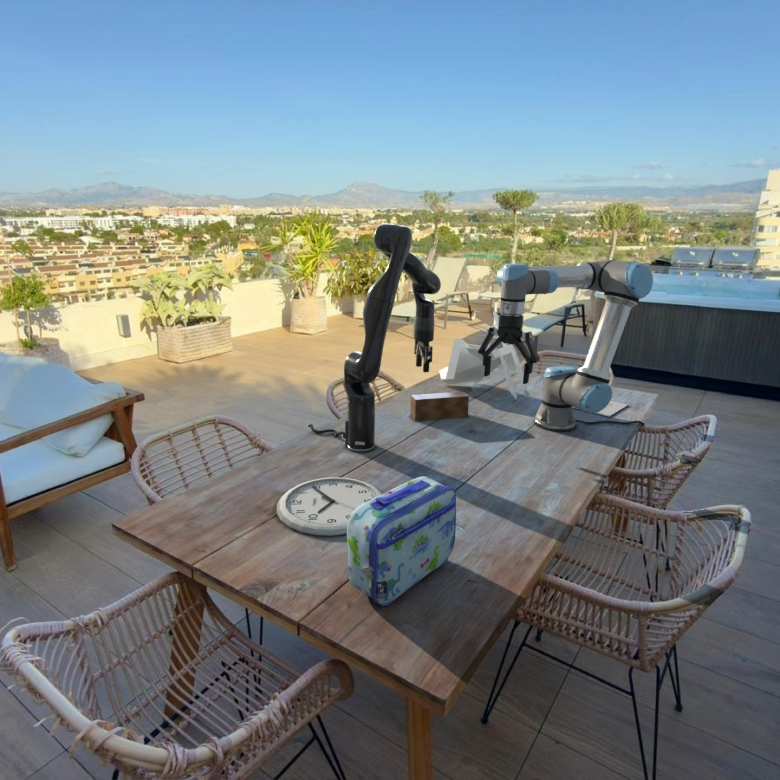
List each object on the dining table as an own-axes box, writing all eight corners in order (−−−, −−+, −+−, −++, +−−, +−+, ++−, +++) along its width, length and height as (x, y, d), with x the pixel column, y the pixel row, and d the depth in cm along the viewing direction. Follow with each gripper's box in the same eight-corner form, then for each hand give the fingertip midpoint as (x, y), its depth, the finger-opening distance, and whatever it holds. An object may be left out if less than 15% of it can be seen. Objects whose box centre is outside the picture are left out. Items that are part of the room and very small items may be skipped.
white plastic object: (461, 429, 252) (437, 405, 227) (444, 352, 274) (420, 323, 250) (535, 404, 240) (518, 377, 215) (510, 326, 262) (492, 293, 237)
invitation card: (608, 416, 214) (573, 407, 224) (608, 416, 214) (573, 408, 224) (628, 404, 229) (594, 396, 238) (628, 405, 229) (594, 397, 238)
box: (461, 411, 217) (463, 391, 215) (467, 416, 212) (469, 395, 209) (410, 415, 211) (411, 395, 209) (414, 421, 206) (415, 399, 203)
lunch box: (376, 619, 101) (377, 524, 95) (340, 592, 109) (339, 502, 102) (459, 562, 119) (465, 479, 113) (424, 542, 126) (427, 463, 120)
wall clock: (392, 527, 129) (268, 531, 127) (391, 533, 130) (269, 537, 127) (383, 473, 158) (282, 475, 155) (383, 478, 158) (282, 480, 156)
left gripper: (409, 325, 204) (407, 365, 209) (420, 331, 191) (419, 374, 196) (427, 324, 206) (425, 364, 211) (440, 331, 193) (437, 373, 198)
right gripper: (470, 311, 168) (466, 374, 175) (545, 320, 154) (538, 389, 160) (481, 308, 174) (477, 370, 180) (554, 317, 160) (547, 383, 166)
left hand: (422, 369), depth 204 cm, fingers open, 8 cm apart
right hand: (505, 379), depth 170 cm, fingers open, 13 cm apart
